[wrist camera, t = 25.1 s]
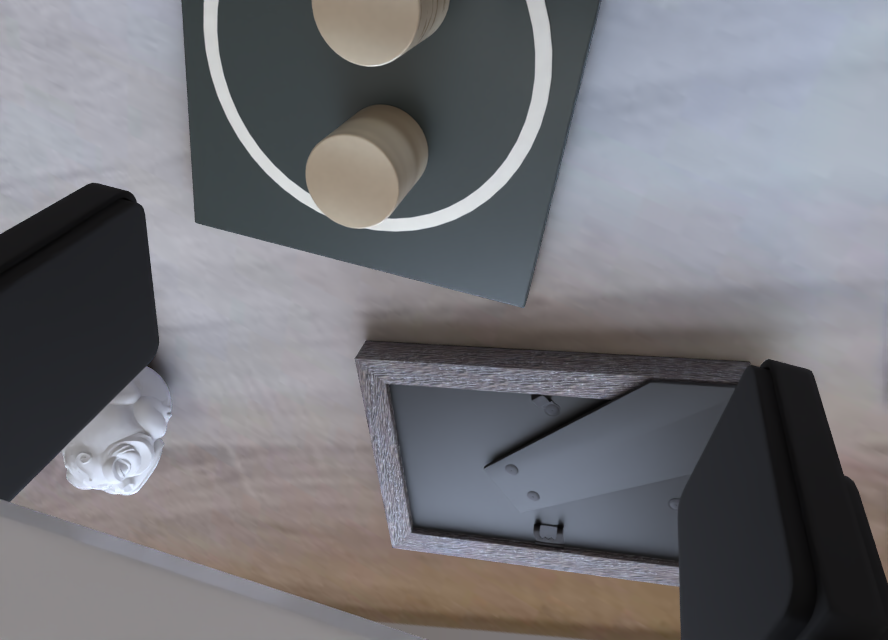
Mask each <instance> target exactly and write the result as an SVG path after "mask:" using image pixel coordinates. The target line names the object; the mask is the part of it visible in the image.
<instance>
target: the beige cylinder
mask: <svg viewBox="0 0 888 640" xmlns="http://www.w3.org/2000/svg"><path fill="white" fill-rule="evenodd" d="M427 161H428V146H427V141H426V138H425V135H424V133H423V131H422V129H421V128H420V126H419V125H418V123H417V122H416V121H415V120H414V119H413V118H412V117H411V116H410V115H409V114H407V113H406V112H404V111H403V110H401V109H399V108H396V107H393V106H390V105H372V106H368V107H366V108H364V109H362V110H360V111H359V112H357V113H356V114H355V115H354V116H352V117H351V118H350V119H348V120H347V121H346V122H345V123H343V124H342V125H341V126H339V127H338V128H337V129H336V130H334V131H333V132H332V133H330V134H329V135H328V136H327V137H325V138H324V139H323V140H321V141H320V142H319V143H318V144H317V145H316V146H315V147H314V148H313V150H312V151H311V153H310V155H309V157H308V160H307V164H306V183H307V187H308V190H309V193H310V195H311V197H312V199H313V201H314V203H315V204H316V205H317V207H318V208H319V209H320V210H321V211H322V212H323V213H324V214H325V215H326V216H327V217H329V218H330V219H331V220H333V221H335V222H336V223H338V224H341V225H343V226H346V227H350V228H358V229H361V228H370V227H373V226H376V225H378V224H380V223H382V222H383V221H385V220H386V219H387V218H388V217H389V216H390V215H391V214H392V212H393V211H394V210H395V209H396V207H397V206H398V205H399V204H400V202H401V201H402V200H403V199H404V197H405V196H406V195H407V194H408V192H409V191H410V190H411V189H412V187H413V186H414V185H415V184H416V182H417V181H418V180H419V179H420V177H421V176H422V174H423V173H424V171H425V168H426V165H427Z"/></svg>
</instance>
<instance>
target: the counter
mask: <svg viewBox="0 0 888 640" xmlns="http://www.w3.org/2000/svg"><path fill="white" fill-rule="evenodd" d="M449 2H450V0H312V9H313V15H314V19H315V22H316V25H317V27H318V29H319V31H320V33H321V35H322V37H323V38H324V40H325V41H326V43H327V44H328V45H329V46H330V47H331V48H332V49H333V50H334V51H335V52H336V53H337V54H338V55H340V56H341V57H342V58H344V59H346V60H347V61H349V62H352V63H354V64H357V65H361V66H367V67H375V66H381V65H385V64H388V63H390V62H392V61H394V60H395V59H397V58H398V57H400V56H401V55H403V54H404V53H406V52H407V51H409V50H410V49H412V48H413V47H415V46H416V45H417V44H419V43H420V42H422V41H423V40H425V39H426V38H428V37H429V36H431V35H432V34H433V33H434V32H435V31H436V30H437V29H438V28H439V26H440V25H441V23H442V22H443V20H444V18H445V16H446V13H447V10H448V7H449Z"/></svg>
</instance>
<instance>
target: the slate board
mask: <svg viewBox="0 0 888 640" xmlns="http://www.w3.org/2000/svg"><path fill="white" fill-rule="evenodd" d="M600 4H601V0H450V2H449V7H448V10H447V13H446V16H445V18H444V20H443V22H442V23H441V25H440V26H439V28H438V29H437V30H436V31H435V32H434V33H433V34H432V35H431V36H429V37H428V38H426V39H425V40H423V41H422V42H420V43H419V44H417V45H416V46H415V47H413V48H412V49H410V50H409V51H407V52H406V53H404V54H403V55H401V56H400V57H398V58H397V59H395V60H394V61H392V62H390V63H388V64H385V65H381V66H375V67H367V66H361V65H357V64H354V63H352V62H349V61H347V60H346V59H344V58H342V57H341V56H340V55H338V54H337V53H336V52H335V51H334V50H333V49H332V48H331V47H330V46H329V45H328V44H327V43H326V41H325V40H324V38H323V37H322V35H321V33H320V31H319V29H318V27H317V25H316V22H315V19H314V15H313V9H312V0H182V16H183V32H184V48H185V65H186V81H187V97H188V114H189V130H190V146H191V163H192V179H193V195H194V212H195V222H196V223H198V224H202V225H206V226H210V227H213V228H217V229H221V230H225V231H229V232H233V233H236V234H240V235H244V236H248V237H252V238H256V239H260V240H263V241H267V242H271V243H275V244H279V245H283V246H287V247H290V248H294V249H298V250H302V251H306V252H310V253H314V254H317V255H321V256H325V257H329V258H333V259H337V260H341V261H344V262H348V263H352V264H356V265H360V266H364V267H367V268H371V269H375V270H379V271H383V272H387V273H391V274H394V275H398V276H402V277H406V278H410V279H414V280H418V281H421V282H425V283H429V284H433V285H437V286H441V287H445V288H448V289H452V290H456V291H460V292H464V293H468V294H472V295H475V296H479V297H483V298H487V299H491V300H495V301H498V302H502V303H506V304H510V305H514V306H518V307H522V308H524V307H525V304H526V301H527V298H528V294H529V290H530V286H531V282H532V278H533V274H534V270H535V266H536V262H537V258H538V254H539V250H540V246H541V242H542V238H543V234H544V230H545V226H546V222H547V218H548V214H549V210H550V206H551V202H552V197H553V193H554V189H555V185H556V181H557V177H558V173H559V169H560V165H561V161H562V157H563V153H564V149H565V145H566V141H567V137H568V133H569V129H570V125H571V121H572V117H573V113H574V109H575V105H576V101H577V97H578V93H579V89H580V85H581V81H582V77H583V73H584V69H585V65H586V61H587V57H588V53H589V49H590V45H591V41H592V37H593V33H594V29H595V25H596V21H597V17H598V13H599V9H600ZM372 105H390V106H393V107H396V108H399V109H401V110H403V111H404V112H406V113H407V114H409V115H410V116H411V117H412V118H413V119H414V120H415V121H416V122H417V123H418V125H419V126H420V128H421V129H422V131H423V133H424V135H425V138H426V141H427V146H428V161H427V165H426V168H425V171H424V173H423V174H422V176H421V177H420V179H419V180H418V181H417V182H416V184H415V185H414V186H413V187H412V189H411V190H410V191H409V192H408V194H407V195H406V196H405V197H404V199H403V200H402V201H401V202H400V204H399V205H398V206H397V207H396V209H395V210H394V211H393V212H392V214H391V215H390V216H389V217H388V218H387V219H386V220H385V221H383V222H382V223H380V224H378V225H376V226H373V227H370V228H361V229H358V228H350V227H346V226H343V225H341V224H338V223H336V222H335V221H333V220H331V219H330V218H329V217H327V216H326V215H325V214H324V213H323V212H322V211H321V210H320V209H319V208H318V207H317V205H316V204H315V203H314V201H313V199H312V197H311V195H310V193H309V190H308V187H307V183H306V164H307V160H308V157H309V155H310V153H311V151H312V150H313V148H314V147H315V146H316V145H317V144H318V143H319V142H320V141H321V140H323V139H324V138H325V137H327V136H328V135H329V134H330V133H332V132H333V131H334V130H336V129H337V128H338V127H339V126H341V125H342V124H343V123H345V122H346V121H347V120H348V119H350V118H351V117H352V116H354V115H355V114H356V113H357V112H359V111H360V110H362V109H364V108H366V107H368V106H372Z"/></svg>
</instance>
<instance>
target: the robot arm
mask: <svg viewBox="0 0 888 640" xmlns="http://www.w3.org/2000/svg"><path fill="white" fill-rule="evenodd" d="M158 345H159V335H158V326H157V317H156V308H155V299H154V290H153V282H152V273H151V264H150V255H149V246H148V237H147V228H146V219H145V213H144V209H143V207H142V206H141V205H140V204H138V203H137V201H136V199H135V197H134V195H133V194H132V193H130V192H129V191H125V190H121V189H117V188H114V187H110V186H106V185H102V184H98V183H91V184H88V185H86V186H84V187H82V188H80V189H79V190H77V191H75V192H73V193H72V194H70V195H68V196H66V197H65V198H63V199H61V200H59V201H58V202H56V203H54V204H52V205H51V206H49V207H47V208H45V209H44V210H42V211H40V212H38V213H37V214H35V215H33V216H31V217H30V218H28V219H26V220H25V221H23V222H21V223H19V224H18V225H16V226H14V227H12V228H11V229H9V230H7V231H5V232H4V233H2V234H0V640H427V639H424V638H421V637H418V636H415V635H412V634H409V633H406V632H403V631H400V630H397V629H394V628H391V627H388V626H386V625H382V624H380V623H377V622H374V621H371V620H368V619H365V618H362V617H359V616H356V615H353V614H350V613H347V612H344V611H341V610H338V609H335V608H332V607H329V606H326V605H323V604H320V603H317V602H314V601H311V600H308V599H304V598H301V597H298V596H295V595H292V594H289V593H286V592H283V591H280V590H277V589H274V588H271V587H268V586H265V585H262V584H259V583H256V582H253V581H250V580H247V579H244V578H241V577H238V576H235V575H232V574H229V573H226V572H223V571H220V570H217V569H213V568H210V567H207V566H204V565H201V564H198V563H195V562H192V561H189V560H186V559H183V558H180V557H177V556H174V555H171V554H168V553H165V552H162V551H159V550H156V549H152V548H149V547H146V546H143V545H140V544H137V543H134V542H131V541H128V540H125V539H122V538H119V537H116V536H113V535H110V534H107V533H104V532H100V531H97V530H94V529H91V528H88V527H85V526H82V525H79V524H76V523H73V522H69V521H66V520H63V519H60V518H57V517H54V516H51V515H48V514H45V513H42V512H39V511H35V510H32V509H29V508H26V507H23V506H20V505H17V504H14V503H11V502H10V501H11V500H12V499H13V498H14V497H15V496H16V495H17V494H18V493H19V492H20V491H21V490H22V489H23V488H24V487H25V486H26V485H27V484H28V483H29V482H30V481H31V480H32V479H33V478H34V477H35V476H36V475H37V474H38V473H39V472H40V471H41V470H42V469H43V468H44V467H45V466H46V465H47V464H48V463H49V462H50V461H51V460H52V459H53V458H54V457H55V456H56V455H57V454H58V453H59V452H60V451H61V450H62V449H63V448H65V447H66V446H67V445H68V444H69V443H70V442H71V441H72V440H73V439H74V438H75V437H76V436H77V435H78V434H79V433H80V432H81V431H82V430H83V429H84V428H85V427H86V426H87V425H88V424H89V423H90V422H91V421H92V420H93V419H94V418H95V417H96V416H97V415H98V414H99V413H100V412H101V411H102V410H103V409H104V408H105V407H106V406H107V405H108V404H109V403H110V402H111V401H112V400H113V399H114V398H115V397H116V396H117V395H118V394H119V393H120V392H121V391H122V390H123V389H124V388H125V387H126V386H127V385H128V384H129V383H130V382H131V381H132V380H133V379H134V378H135V377H136V376H137V375H138V374H139V373H140V372H141V371H142V370H143V369H144V368H145V367H146V366H147V365H148V364H149V363H150V362H151V361H152V360H153V358H154V356H155V355H156V352H157V349H158ZM677 518H678V552H679V586H680V620H681V640H888V583H887V580H886V577H885V574H884V571H883V567H882V564H881V561H880V558H879V555H878V552H877V548H876V545H875V542H874V539H873V536H872V533H871V529H870V526H869V523H868V520H867V517H866V514H865V511H864V507H863V504H862V501H861V498H860V495H859V492H858V489H857V487H856V485H855V483H854V481H852V480H851V479H850V478H849V477H847V476H844V474H843V471H842V468H841V464H840V461H839V458H838V454H837V451H836V448H835V444H834V441H833V438H832V434H831V431H830V428H829V424H828V421H827V418H826V414H825V411H824V408H823V404H822V401H821V398H820V394H819V391H818V388H817V384H816V381H815V378H814V375H813V373H812V371H810V370H808V369H805V368H801V367H797V366H793V365H790V364H786V363H782V362H778V361H774V360H771V359H768V360H765V361H764V362H763V363H762V364H761V366H760V367H757V366H753V365H750V366H748V367H747V368H746V369H745V371H744V373H743V374H742V376H741V378H740V380H739V382H738V384H737V386H736V388H735V390H734V392H733V394H732V396H731V398H730V400H729V402H728V404H727V406H726V408H725V410H724V412H723V414H722V415H721V417H720V419H719V421H718V423H717V425H716V427H715V429H714V431H713V433H712V435H711V437H710V439H709V441H708V443H707V445H706V447H705V449H704V451H703V453H702V455H701V457H700V459H699V460H698V462H697V464H696V466H695V468H694V470H693V472H692V474H691V476H690V478H689V480H688V482H687V484H686V486H685V488H684V490H683V492H682V495H681V498H680V501H679V506H678V516H677Z"/></svg>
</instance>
